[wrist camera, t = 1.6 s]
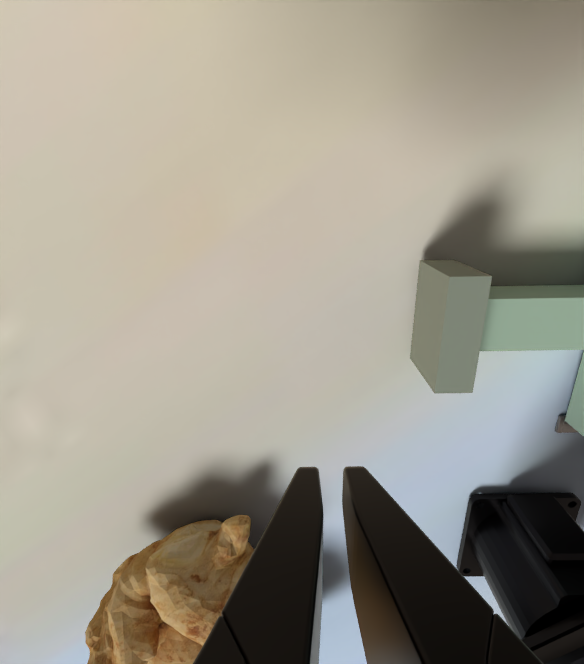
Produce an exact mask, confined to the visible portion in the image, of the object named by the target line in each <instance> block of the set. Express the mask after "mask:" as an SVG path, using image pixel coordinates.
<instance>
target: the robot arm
mask: <svg viewBox="0 0 584 664" xmlns="http://www.w3.org/2000/svg"><path fill="white" fill-rule="evenodd" d="M479 502H480V503H479ZM342 505H343V516H344V526H345V535H346V545H347V555H348V564H349V574H350V581H351V589H352V594H353V599H354V604H355V609H356V614H357V618H358V623H359V628H360V632H361V637H362V642H363V646H364V651H365V656H366V660H367V664H584V531H583V530H582V529H581V528H580V526H579V525H578V524H577V523H576V522H575V521H576V517H577V514H578V511H579V508H580V505H581V501H580V500H579V499H578V497H577V496H576V495H575V494H573V493H522V494H475V495H473V496H471V497H470V499H469V502H468V507H467V513H466V518H465V523H464V529H463V534H462V539H461V545H460V550H459V555H458V561H457V569H458V570H457V569H456V568H455V567H454V565H453V564H452V563H451V562H450V561H449V560H448V559H447V558H446V557H445V556H444V554H443V553H442V552H441V551H440V550H439V549H438V548H437V547H436V546H435V544H434V543H433V542H432V541H431V540H430V539H429V538H428V537H427V536H426V535H425V533H424V532H423V531H422V530H421V529H420V528H419V527H418V526H417V525H416V523H415V522H414V521H413V520H412V519H411V518H410V517H409V516H408V515H407V514H406V512H405V511H404V510H403V509H402V508H401V507H400V506H399V505H398V504H397V502H396V501H395V500H394V499H393V498H392V497H391V496H390V495H389V494H388V493H387V491H386V490H385V489H384V488H383V487H382V486H381V485H380V484H379V483H378V481H377V480H376V479H375V478H374V477H373V476H372V475H371V474H370V473H369V472H368V470H367V469H366V468H364V467H361V466H357V467H345V468H344V471H343V495H342ZM463 576H484V577H485V579H486V581H487V583H488V585H489V587H490V589H491V591H492V593H493V595H494V597H495V599H496V601H497V603H498V605H499V607H500V609H501V611H502V613H503V615H504V617H505V619H506V621H507V623H508V625H509V626H508V625H507V624H506V623H505V622H504V620H503V619H502V618H501V617H500V616H499V615H498V614H494V615H493V613H494V611H493V609H492V607H491V606H490V605H489V604H488V603H487V602H486V601H485V600H484V599H483V598H482V596H481V595H480V594H479V593H478V592H477V591H476V590H475V589H474V588H473V586H472V585H471V584H470V583H469V582H468V581H467V580H466V579H465V578H464V577H463ZM322 577H323V504H322V495H321V487H320V478H319V470H318V468H316V467H300V468H298V469H297V471H296V473H295V475H294V476H293V478H292V480H291V482H290V484H289V486H288V488H287V490H286V491H285V493H284V495H283V497H282V499H281V501H280V503H279V505H278V506H277V508H276V510H275V512H274V514H273V516H272V518H271V520H270V521H269V523H268V525H267V527H266V529H265V531H264V533H263V535H262V536H261V538H260V540H259V542H258V544H257V546H256V548H255V550H254V551H253V553H252V555H251V557H250V559H249V561H248V563H247V565H246V566H245V568H244V570H243V572H242V574H241V576H240V578H239V580H238V581H237V583H236V585H235V587H234V589H233V591H232V593H231V595H230V596H229V598H228V600H227V602H226V604H225V606H224V608H223V610H222V612H221V616H219V617H218V618H217V620H216V622H215V624H214V626H213V628H212V630H211V632H210V634H209V635H208V637H207V639H206V641H205V643H204V645H203V646H202V648H201V650H200V652H199V653H198V655H197V657H196V659H195V660H194V662H193V664H319V647H320V629H321V611H322Z"/></svg>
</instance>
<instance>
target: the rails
mask: <svg viewBox="0 0 584 664" xmlns="http://www.w3.org/2000/svg"><path fill="white" fill-rule="evenodd" d="M565 418H566V415H559V416H558V420H557V424H556V427H555V431H556V432H557V433H572V432H578V431H576V430H575V429H574V428H573V427H572V426H571V425H569V424H568V423H567V422H566V421H565Z"/></svg>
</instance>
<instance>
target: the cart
mask: <svg viewBox="0 0 584 664" xmlns="http://www.w3.org/2000/svg"><path fill="white" fill-rule="evenodd" d="M491 281H492V276H491V275H488V274H486V273H484V272H481V271H479V270H477V269H474V268H472V267H470V266H467V265H465V264H463V263H460V262H458V261H456V260H420V264H419V274H418V283H417V293H416V303H415V313H414V323H413V333H412V343H411V353H410V359H411V360H412V362H413V363H414V364H415V366H416V367H417V369H418V370H419V372H420V373H421V375H422V376H423V377H424V379H425V380H426V382H427V383H428V385H429V386H430V387H431V389H432V390H433V392H434V393H472V392H473V387H474V381H475V375H476V369H477V363H478V357H479V351H525V350H584V285H544V286H491ZM565 421H566V422H567V423H568V424H569V425H571V426H572V427H573V428H574V429H575V430H576V431H578V432H579V433H580V434H581V435H582V436H583V437H584V352H583V356H582V360H581V363H580V367H579V371H578V374H577V378H576V381H575V385H574V389H573V392H572V396H571V400H570V403H569V407H568V411H567V414H566V418H565Z"/></svg>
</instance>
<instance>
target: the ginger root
mask: <svg viewBox="0 0 584 664" xmlns="http://www.w3.org/2000/svg"><path fill="white" fill-rule="evenodd" d="M250 526H251V519H250V517H249V516H248V515H237V516H233V517H231V518H229V519H226V520H225V521H224V522H220V521H218V520H205V521H197V522H194V523H191V524H188V525H185V526H183V527H180V528H178V529H176V530H175V531H173V532H172V533H171V534H169V535H168V536H166V537H165V538H163V539H162V540H159V541H156V542H154V543H152V544H151V545H149V546H148V547H146V548H145V549H143V550H142V551H141V552H139V553H137V554H135V555H132V556H130V557H129V558H128V559H126V560H125V561H124V562H123V563H122V564H121V565H120V566H119V567H118V568H117V570H116V571H115V572H114V574H113V584H112V587H111V589H110V590H109V591H108V592H107V593H106V594H105V596H104V597H103V599H102V600H101V603H100V607H99V608H98V610H97V612H96V614H95V615H94V617H93V619H92V620H91V621H90V623H89V625H88V627H87V630H86V632H85V634H86V644H87V646H88V647H89V649H90V657H89V660H88V663H87V664H193V662H194V660H195V659H196V657H197V655H198V653H199V652H200V650H201V648H202V646H203V645H204V643H205V641H206V639H207V637H208V635H209V634H210V632H211V630H212V628H213V626H214V624H215V622H216V620H217V618H218V617H219V616H221V612H222V610H223V608H224V606H225V604H226V602H227V600H228V598H229V596H230V595H231V593H232V591H233V589H234V587H235V585H236V583H237V581H238V580H239V578H240V576H241V574H242V572H243V570H244V568H245V566H246V565H247V563H248V561H249V559H250V557H251V555H252V553H253V551H254V549H253V547H252V546H251V545H250V543H249V542H248V538H249V536H250Z"/></svg>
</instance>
